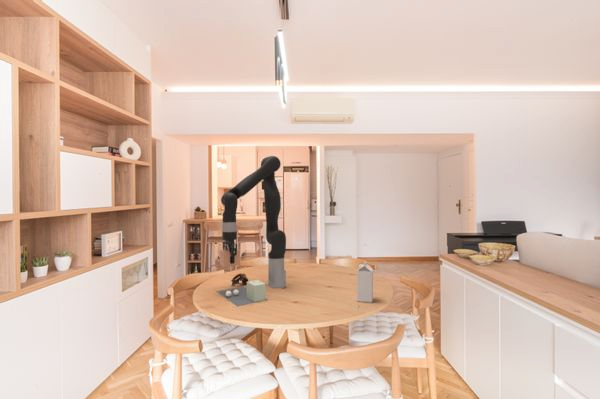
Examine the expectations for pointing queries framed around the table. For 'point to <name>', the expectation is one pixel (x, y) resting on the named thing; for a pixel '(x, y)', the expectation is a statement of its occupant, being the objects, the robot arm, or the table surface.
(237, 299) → the slate mat
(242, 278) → the brown sculpted ring
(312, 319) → the table surface
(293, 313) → the table surface
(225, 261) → the upright salmon pillar
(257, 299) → the pale green cuboid
